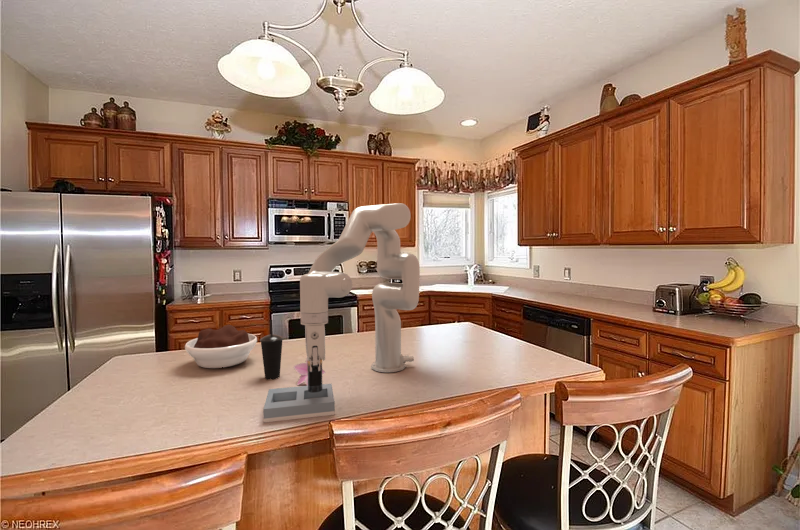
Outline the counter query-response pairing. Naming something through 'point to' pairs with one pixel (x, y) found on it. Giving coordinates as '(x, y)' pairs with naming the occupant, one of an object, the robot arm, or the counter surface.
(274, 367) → the drinking cup
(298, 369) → the lily
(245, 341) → the white bowl of brownies
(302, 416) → the tray
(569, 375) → the counter surface
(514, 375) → the counter surface
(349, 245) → the robot arm
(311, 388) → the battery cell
